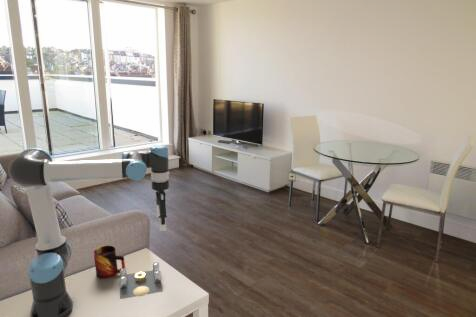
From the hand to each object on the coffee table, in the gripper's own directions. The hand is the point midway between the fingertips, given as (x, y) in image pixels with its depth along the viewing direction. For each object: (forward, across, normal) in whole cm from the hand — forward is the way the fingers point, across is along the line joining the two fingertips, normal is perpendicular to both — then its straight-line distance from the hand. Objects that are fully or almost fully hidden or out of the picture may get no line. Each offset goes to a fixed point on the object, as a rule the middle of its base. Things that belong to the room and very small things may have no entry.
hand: (161, 224), depth 157 cm
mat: (+27, -4, +10) cm, 29 cm away
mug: (+27, +10, +23) cm, 37 cm away
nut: (+27, -1, +10) cm, 29 cm away
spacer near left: (+27, -4, +18) cm, 33 cm away
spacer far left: (+27, +2, +18) cm, 32 cm away
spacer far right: (+27, +2, +3) cm, 27 cm away
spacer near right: (+27, -5, +3) cm, 27 cm away
